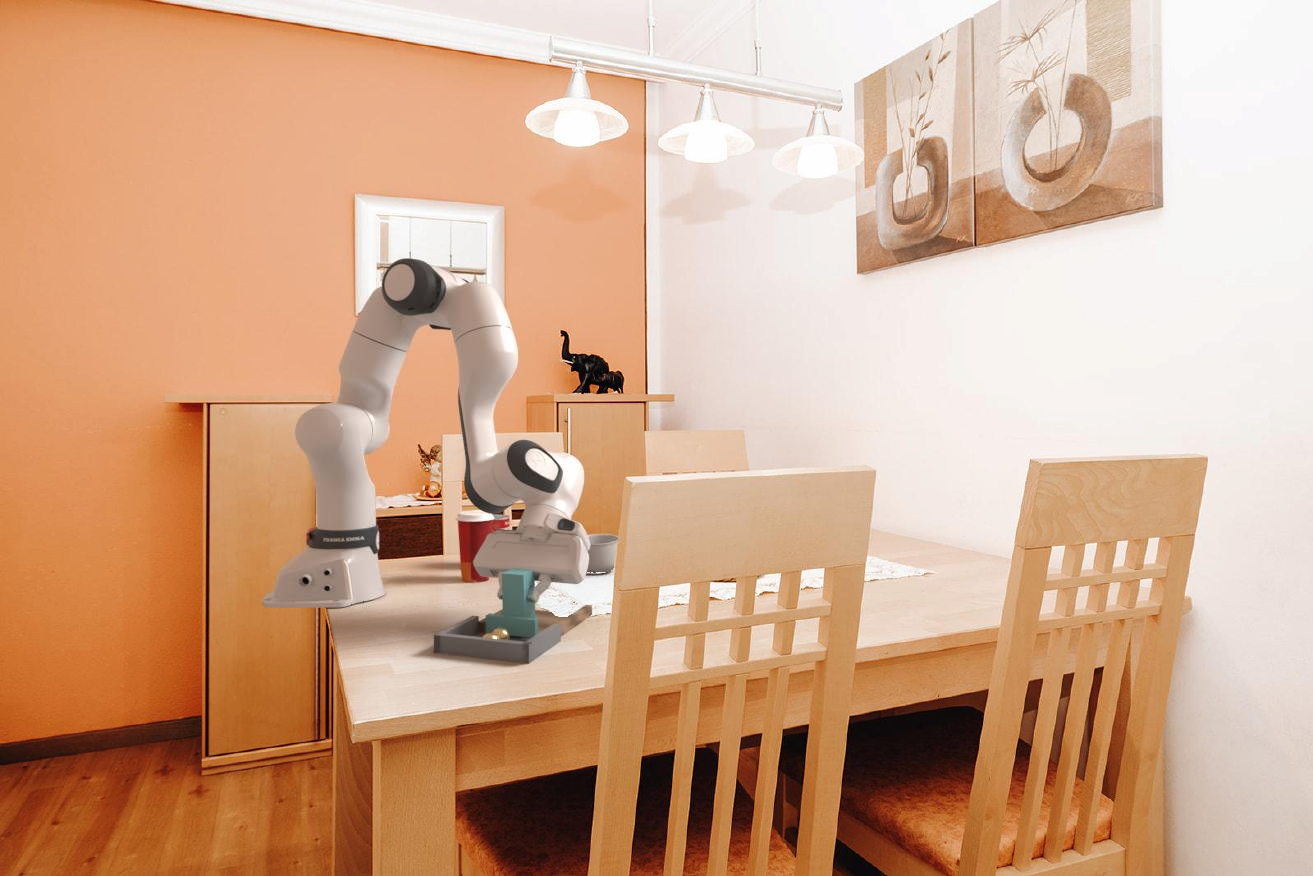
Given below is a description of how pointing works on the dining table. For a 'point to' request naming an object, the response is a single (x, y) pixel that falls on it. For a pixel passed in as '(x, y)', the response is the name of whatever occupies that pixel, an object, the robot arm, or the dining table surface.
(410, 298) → the robot arm
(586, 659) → the dining table surface
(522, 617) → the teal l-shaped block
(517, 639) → the tray
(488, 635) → the ball
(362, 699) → the dining table surface
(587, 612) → the channel
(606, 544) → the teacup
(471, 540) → the coffee cup
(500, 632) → the ball
